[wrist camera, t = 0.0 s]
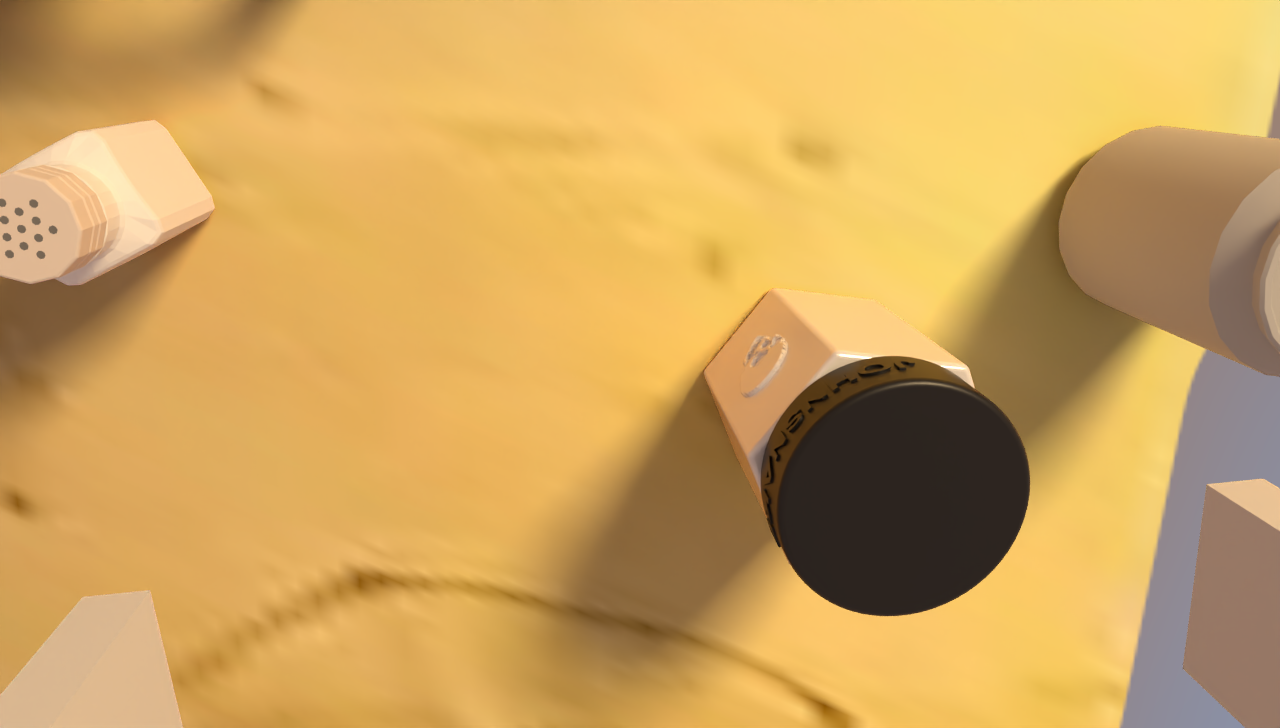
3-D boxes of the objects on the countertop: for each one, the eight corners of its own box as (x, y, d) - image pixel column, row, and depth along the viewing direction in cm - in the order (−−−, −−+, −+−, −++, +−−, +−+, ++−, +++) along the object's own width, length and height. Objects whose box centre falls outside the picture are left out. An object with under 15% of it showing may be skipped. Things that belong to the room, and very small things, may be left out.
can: (1058, 125, 39) (1270, 153, 28) (1233, 123, 40) (1510, 149, 29) (1037, 306, 42) (1225, 400, 30) (1203, 301, 42) (1448, 391, 31)
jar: (801, 240, 40) (907, 313, 28) (943, 354, 42) (1094, 465, 30) (665, 408, 41) (713, 541, 30) (807, 510, 43) (903, 671, 32)
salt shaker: (69, 164, 36) (-88, 200, 27) (161, 112, 36) (35, 130, 27) (136, 258, 37) (8, 322, 28) (226, 208, 37) (126, 256, 28)
